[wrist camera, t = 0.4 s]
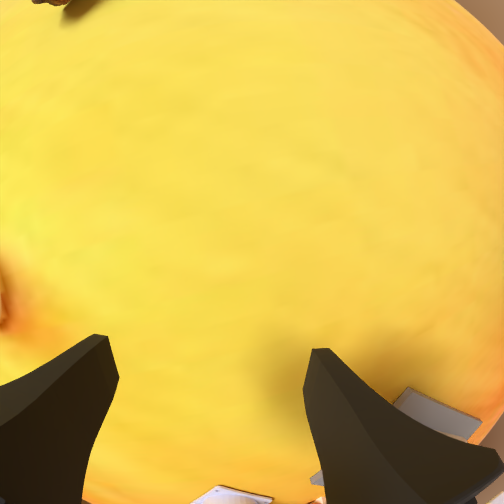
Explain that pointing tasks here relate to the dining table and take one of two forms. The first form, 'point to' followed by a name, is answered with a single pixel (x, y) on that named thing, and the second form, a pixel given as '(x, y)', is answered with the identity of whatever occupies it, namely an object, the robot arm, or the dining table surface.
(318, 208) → the dining table surface
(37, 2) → the wooden carving
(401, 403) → the jig board
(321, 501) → the pale wooden bar
